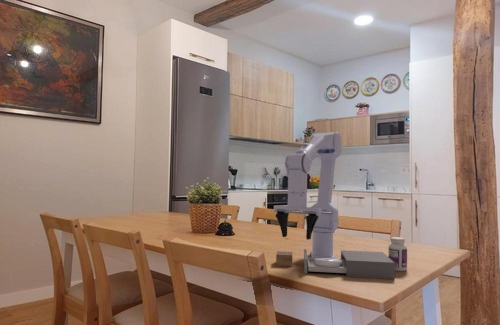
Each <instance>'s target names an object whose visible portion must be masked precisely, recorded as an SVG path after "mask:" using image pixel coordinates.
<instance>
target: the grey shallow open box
mask: <svg viewBox="0 0 500 325" xmlns="http://www.w3.org/2000/svg"><path fill="white" fill-rule="evenodd" d="M307 253H308V252H307V249H305V248H304V249H303V267H304V268H303V271H304V274H306V275H307V274H308V272H316V273H317V272H318V273H334V274H335V273H336V274H345V273H347V262H346V261H345V259H341V258H337V259H338V260H342V267H323V266H317V265H314V263H315V259H316V258H314V257H311V256H309V257H308V254H307ZM329 259H336V257H335V258H329Z"/></svg>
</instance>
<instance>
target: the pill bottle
mask: <svg viewBox="0 0 500 325" xmlns="http://www.w3.org/2000/svg"><path fill="white" fill-rule="evenodd" d="M390 242H391V243H389V245H388V257H389V258H390V259H391V260H392V261H393V262H394V263H395V271H396V272H405V271H407V270H408V247H407V245H406V244H405V242H406V239H405V238H404V237H400V236H399V237H398V236H392V237H390Z"/></svg>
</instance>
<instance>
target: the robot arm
mask: <svg viewBox="0 0 500 325" xmlns="http://www.w3.org/2000/svg"><path fill="white" fill-rule="evenodd" d="M309 139H310V141H309V143H308V142H305V143H302V145H301V147H300V148H298V149H297V150H296V151H295V152H294V153H289V154H288V155H287V156H286V157H285V161H284V167H285V170H286V171H285V172H286V178H288V179H287V205H286V206H285V205H274V206H273V213H276V214H275V218H276V219H277V222H278V224H279V227H280V231H281V236H282V238H286V237H287V236H288V222H289V221H288V220H289V216H290V214H296V215H297V214H298V215H305V221H306V222H305V224H306V233H305V234H306V235H305V238H306V240H309V241H310V240H311V239H312V240H311V241H312V243H311V244H312V245H311V247H312V248H311V249H312V250H310V255H311V256H310V257H314V258H335V259H336V256H335V255H334V233H335V231H337V229H338V227H339V220H340V219H339V211H338V209H337V207H335V205H334V204H332V199H333V190H334V189H333V187H334V178H335V177H334V176H335V166H336V165H335V164H336V161H337V160H336V159H337V158H339V157H340V156H341V151H342V137H341V134H340V133H339V132H338V131H334V132H332V131H331V132H313V133H312V134H311V135H310V138H309ZM317 157H318V158H319V159H321V163H320V164H321V165H320V173H319V182H318V192H317V200H316V201H317V202H316V203H315V204H313V205H311V206H310V207H309V206H308V207H307V205H308V202H307V201H308V199H307V198H308V196H307V195H308V193H307V192H308V172H310V171H311V166H312V164H313V161H314V160H315V159H316V158H317Z"/></svg>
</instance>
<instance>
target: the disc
mask: <svg viewBox="0 0 500 325" xmlns="http://www.w3.org/2000/svg"><path fill="white" fill-rule="evenodd" d="M338 259H339V258H335V259H329V258H316V259H315V263H314V265H317V266H323V267H342V260H338Z"/></svg>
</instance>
